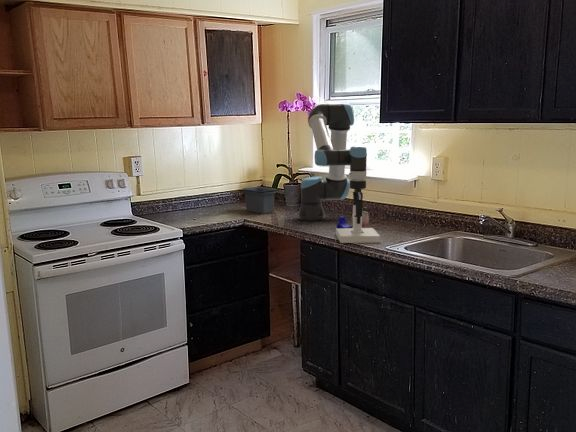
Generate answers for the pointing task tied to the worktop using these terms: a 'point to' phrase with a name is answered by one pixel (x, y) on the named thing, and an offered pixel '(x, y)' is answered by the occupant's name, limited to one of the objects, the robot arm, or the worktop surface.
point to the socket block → (357, 235)
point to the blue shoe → (343, 223)
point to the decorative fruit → (363, 218)
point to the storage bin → (259, 199)
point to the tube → (354, 220)
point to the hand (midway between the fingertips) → (357, 229)
